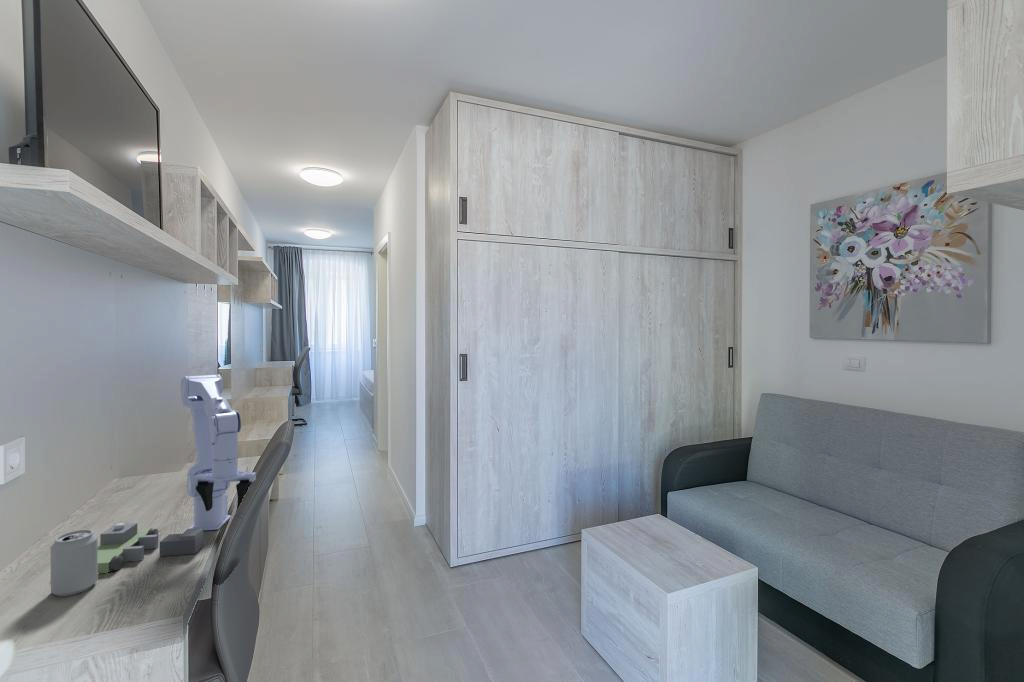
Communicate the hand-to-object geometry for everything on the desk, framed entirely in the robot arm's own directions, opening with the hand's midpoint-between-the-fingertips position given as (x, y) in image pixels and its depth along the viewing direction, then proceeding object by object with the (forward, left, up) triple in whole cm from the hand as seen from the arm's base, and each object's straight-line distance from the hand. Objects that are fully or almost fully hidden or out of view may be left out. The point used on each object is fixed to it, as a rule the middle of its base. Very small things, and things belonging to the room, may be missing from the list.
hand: (224, 508), depth 123 cm
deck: (+3, -23, -9) cm, 25 cm away
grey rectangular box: (+3, -9, -9) cm, 13 cm away
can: (+18, -23, -10) cm, 31 cm away
